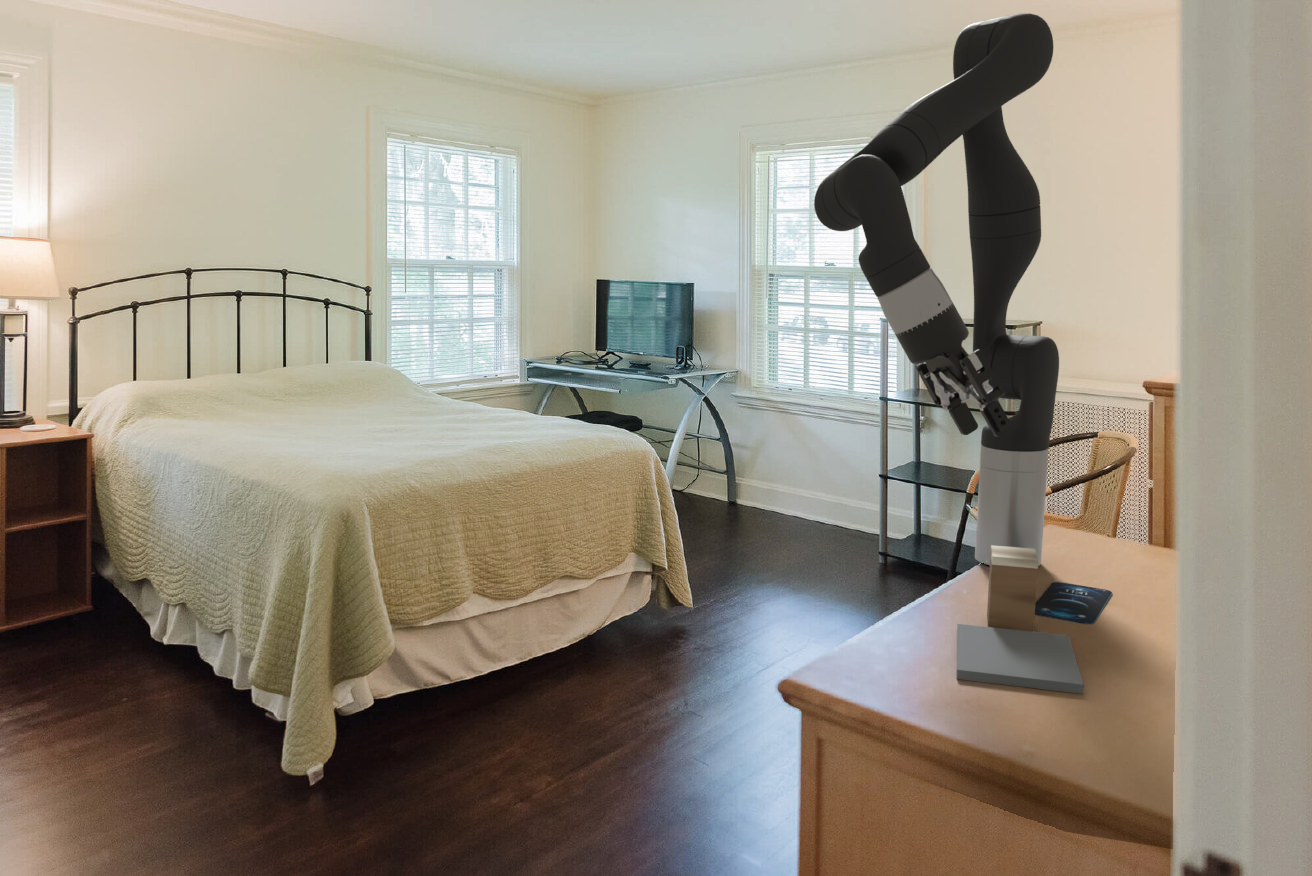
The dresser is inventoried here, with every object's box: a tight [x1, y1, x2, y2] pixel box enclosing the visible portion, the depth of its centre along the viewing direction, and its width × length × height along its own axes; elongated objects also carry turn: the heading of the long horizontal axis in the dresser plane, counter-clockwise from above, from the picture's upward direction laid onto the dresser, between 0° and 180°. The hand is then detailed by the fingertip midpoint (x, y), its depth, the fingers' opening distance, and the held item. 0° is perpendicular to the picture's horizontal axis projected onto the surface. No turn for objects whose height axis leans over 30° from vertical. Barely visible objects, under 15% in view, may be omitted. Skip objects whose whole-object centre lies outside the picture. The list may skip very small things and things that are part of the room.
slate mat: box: [956, 623, 1084, 695], centre depth 101 cm, size 14×12×1 cm
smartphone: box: [1035, 581, 1113, 626], centre depth 120 cm, size 8×1×15 cm
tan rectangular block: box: [986, 545, 1039, 632], centre depth 112 cm, size 5×5×9 cm
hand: (987, 432), depth 112 cm, fingers open, 8 cm apart
